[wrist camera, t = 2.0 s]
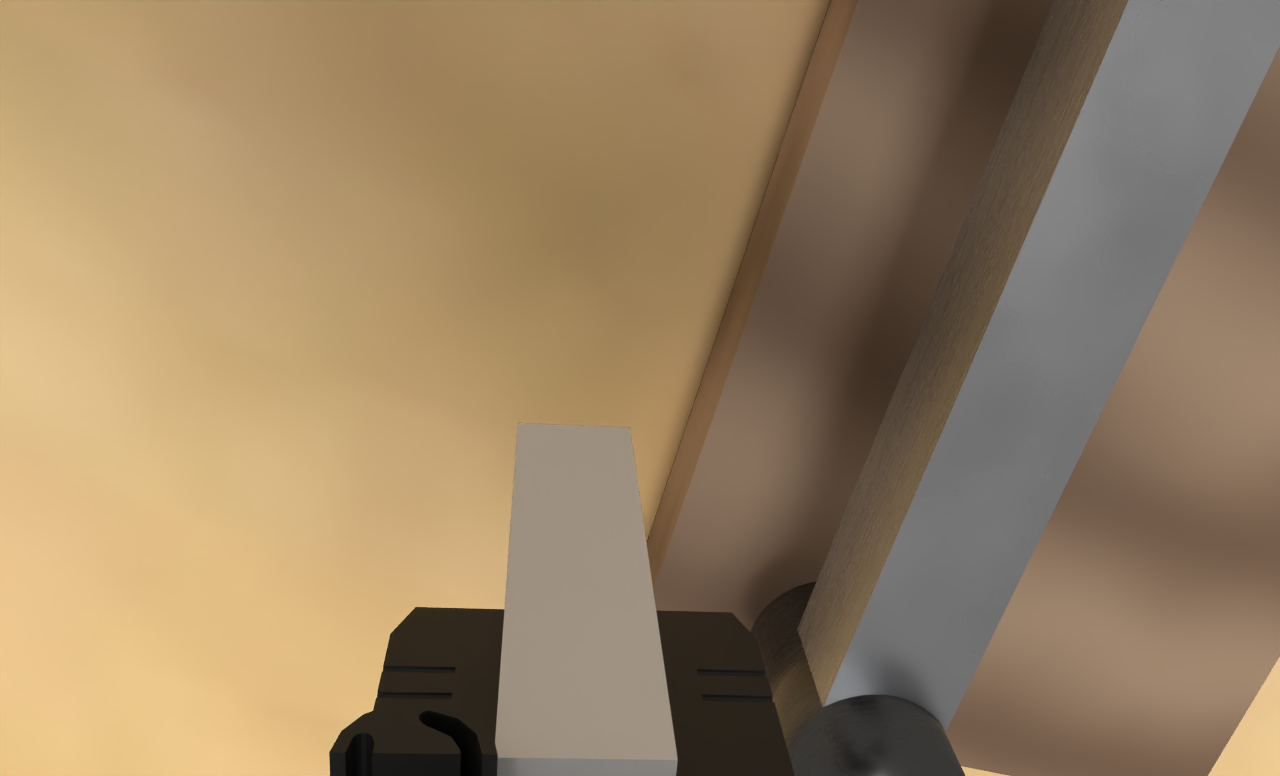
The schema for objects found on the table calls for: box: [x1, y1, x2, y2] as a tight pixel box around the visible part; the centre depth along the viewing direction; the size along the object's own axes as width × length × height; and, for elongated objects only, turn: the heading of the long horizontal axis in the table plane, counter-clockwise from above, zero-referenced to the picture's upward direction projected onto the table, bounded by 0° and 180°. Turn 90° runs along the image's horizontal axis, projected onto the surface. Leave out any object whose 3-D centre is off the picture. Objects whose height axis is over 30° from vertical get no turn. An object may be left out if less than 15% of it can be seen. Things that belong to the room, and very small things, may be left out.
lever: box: [750, 0, 1280, 776], centre depth 18 cm, size 26×5×5 cm, turn 164°
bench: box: [647, 0, 1280, 776], centre depth 21 cm, size 32×15×6 cm, turn 164°
